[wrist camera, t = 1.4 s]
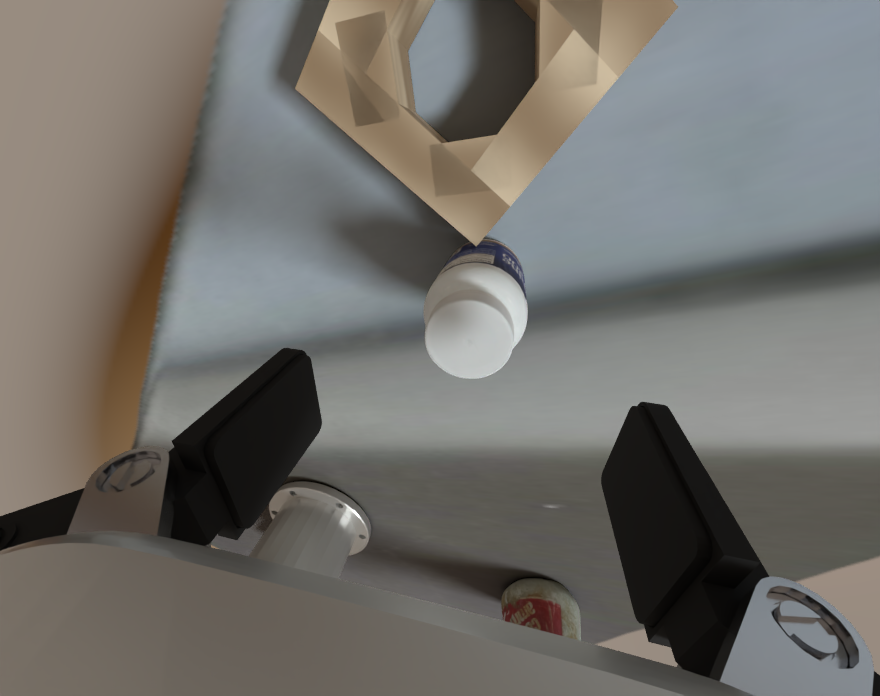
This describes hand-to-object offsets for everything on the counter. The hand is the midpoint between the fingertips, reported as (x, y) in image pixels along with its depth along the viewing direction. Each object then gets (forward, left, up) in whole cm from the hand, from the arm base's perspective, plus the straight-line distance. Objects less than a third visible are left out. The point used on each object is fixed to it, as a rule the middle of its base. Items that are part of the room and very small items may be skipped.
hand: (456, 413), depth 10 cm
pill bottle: (-1, 0, -15) cm, 15 cm away
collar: (+7, +8, -15) cm, 19 cm away
